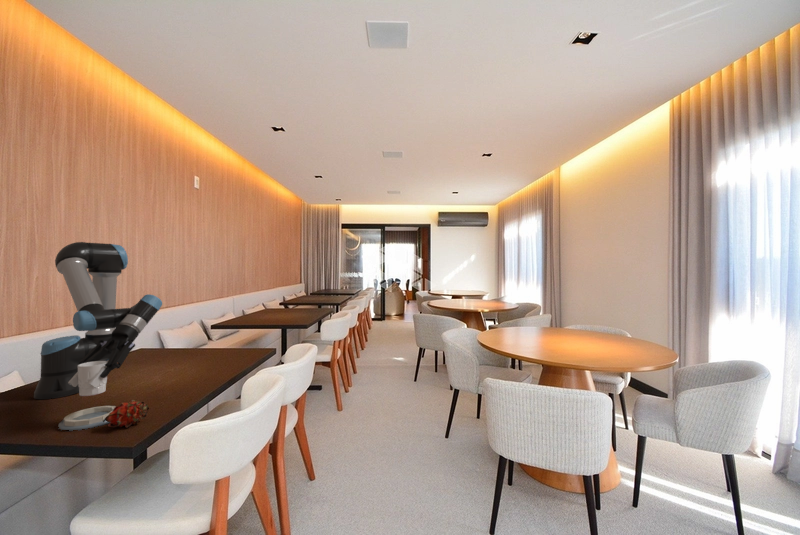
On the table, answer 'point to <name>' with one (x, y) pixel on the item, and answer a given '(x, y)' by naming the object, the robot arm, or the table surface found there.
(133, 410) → the dragon fruit
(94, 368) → the white cup
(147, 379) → the table surface
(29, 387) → the table surface
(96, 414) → the ring plate
